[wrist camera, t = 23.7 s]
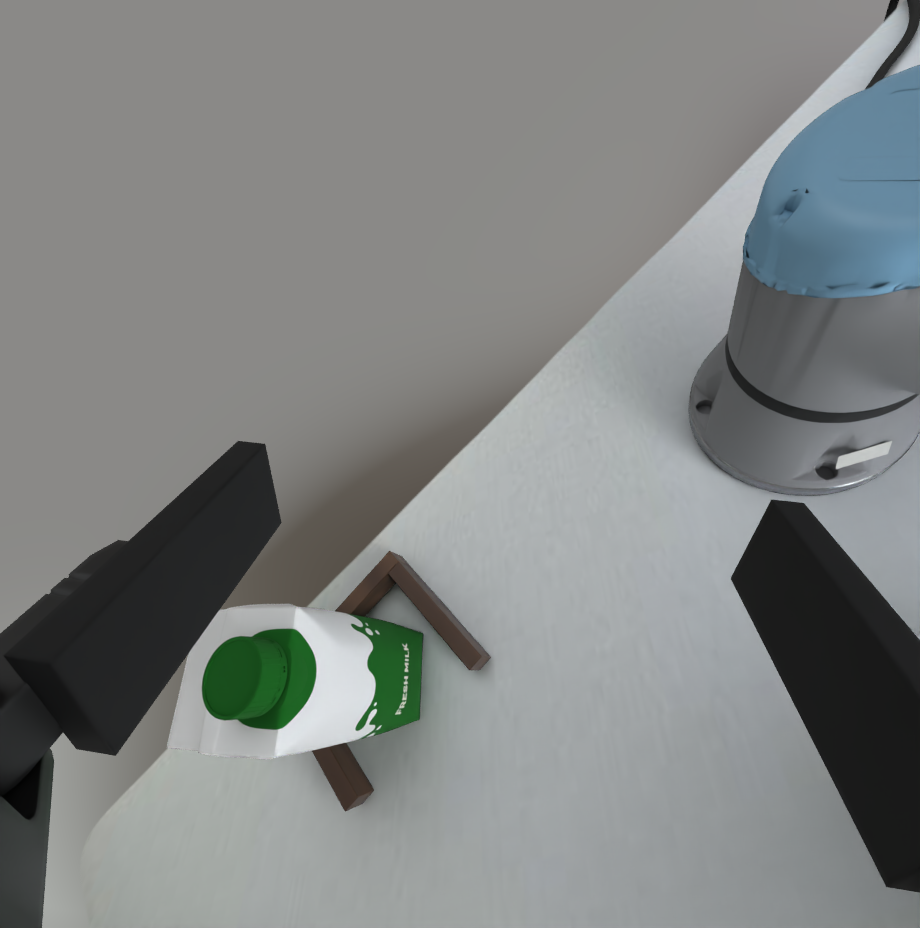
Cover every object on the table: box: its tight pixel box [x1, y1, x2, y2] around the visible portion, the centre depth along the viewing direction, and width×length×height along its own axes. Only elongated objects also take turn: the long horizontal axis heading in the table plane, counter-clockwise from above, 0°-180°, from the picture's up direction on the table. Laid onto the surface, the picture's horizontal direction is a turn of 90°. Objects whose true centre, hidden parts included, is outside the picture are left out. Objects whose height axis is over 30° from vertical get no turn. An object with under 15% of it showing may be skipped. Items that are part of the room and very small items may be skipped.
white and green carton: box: [167, 604, 423, 759], centre depth 33 cm, size 9×9×20 cm
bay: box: [312, 551, 491, 811], centre depth 41 cm, size 16×13×2 cm
